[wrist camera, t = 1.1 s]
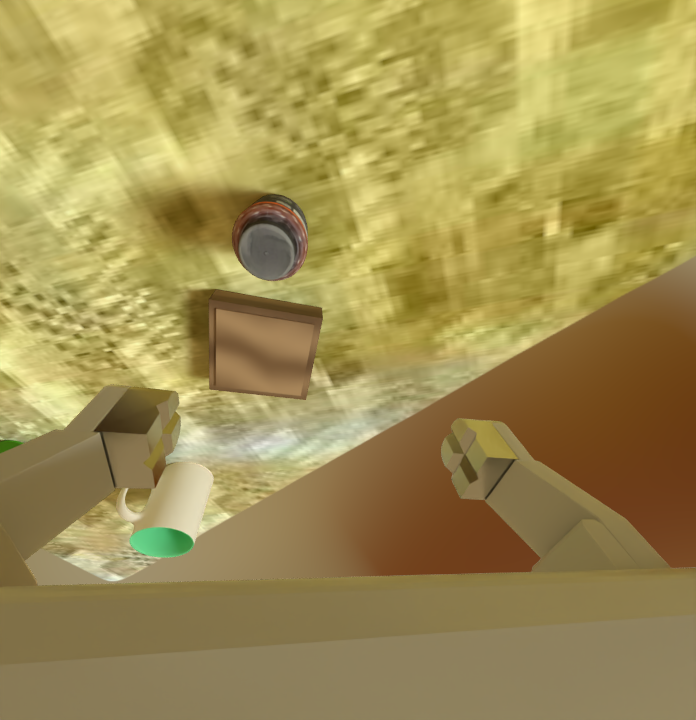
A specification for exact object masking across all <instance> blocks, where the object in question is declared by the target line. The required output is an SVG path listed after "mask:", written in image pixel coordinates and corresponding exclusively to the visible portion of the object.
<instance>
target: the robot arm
mask: <svg viewBox="0 0 696 720" xmlns="http://www.w3.org/2000/svg"><path fill="white" fill-rule="evenodd" d="M178 405H179V397H178V393H177V392H176V391H169V390H160V389H151V388H143V387H131V386H123V385H114V384H110V385H108V386H105V387H104V388H103V389H102V390H101V391H100V392H99V393H98V394H97V395H96V396H95V397H94V398H93V399H92V401H91V402H90V403H89V404H88V405H87V406H86V407H85V408H84V409H83V410H82V411H81V412H80V413H79V414H78V415H77V416H76V417H75V418H74V419H73V420H72V421H71V422H70V424H69V425H68V426H67V427H66V428H65V429H64V430H53V431H51V432H49V433H46V434H44V435H42V436H40V437H37V438H35V439H33V440H30V441H28V442H26V443H23V444H21V445H19V446H16V447H14V448H12V449H10V450H7V451H5V452H3V453H0V720H696V568H671V567H670V566H669V565H668V564H667V563H666V562H665V561H664V560H663V559H662V558H661V557H660V556H659V554H658V553H657V552H656V551H655V550H654V549H653V548H652V547H651V546H650V545H649V544H648V543H647V541H646V540H645V539H644V538H643V537H642V536H641V535H640V534H639V533H638V532H637V530H636V529H635V528H634V527H633V526H632V525H631V524H630V523H629V522H628V521H627V520H626V519H625V518H624V517H622V516H621V515H619V514H617V513H616V512H615V511H613V510H612V509H610V508H609V507H607V506H606V505H604V504H602V503H601V502H600V501H598V500H597V499H595V498H593V497H592V496H591V495H589V494H587V493H586V492H584V491H583V490H581V489H580V488H578V487H577V486H575V485H574V484H572V483H571V482H569V481H568V480H566V479H565V478H563V477H562V476H560V475H559V474H557V473H556V472H554V471H553V470H551V469H550V468H548V467H547V466H545V465H543V464H542V463H541V462H539V461H534V459H533V458H532V457H531V456H530V454H529V453H528V452H527V451H526V449H525V448H524V447H523V445H522V444H521V443H520V442H519V441H518V439H517V438H516V437H515V436H514V434H513V433H512V432H511V430H510V429H509V428H508V427H507V426H506V424H504V423H502V422H500V421H483V420H472V419H460V418H458V419H457V420H455V421H454V422H453V424H452V426H451V430H452V433H451V434H450V435H448V436H447V437H445V439H444V442H443V444H442V450H441V455H442V460H443V462H444V464H445V467H446V468H447V469H449V470H450V471H451V472H452V473H453V475H452V481H453V484H454V486H455V488H456V490H457V492H458V494H459V496H460V498H462V499H478V500H479V499H480V500H486V503H488V505H489V506H490V507H491V508H492V509H493V510H495V512H496V513H497V514H498V515H499V516H500V517H501V518H502V519H503V520H504V521H505V522H506V523H507V524H508V525H509V526H510V527H511V528H512V529H513V530H514V531H515V532H516V533H517V534H518V535H519V536H520V537H521V538H522V539H523V540H524V541H525V542H526V543H527V544H528V545H529V546H530V547H531V548H532V549H533V550H534V551H535V553H537V555H538V556H540V557H541V560H540V561H538V563H537V564H535V565H534V566H533V568H532V572H521V573H520V572H519V573H482V574H446V575H444V574H443V575H405V576H369V577H334V578H333V577H332V578H299V579H260V580H226V581H225V580H224V581H192V582H189V581H187V582H151V583H115V584H79V585H45V586H44V585H42V586H38V584H37V580H36V578H35V576H34V575H33V573H32V572H31V570H30V568H29V567H28V565H27V564H26V562H25V560H26V559H28V558H29V557H30V556H31V555H33V554H34V553H35V552H37V551H38V550H39V549H40V548H42V547H43V546H44V545H46V544H47V543H48V542H49V541H51V540H52V539H53V538H55V537H56V536H57V535H58V534H60V533H61V532H62V531H64V530H65V529H66V528H67V527H69V526H70V525H71V524H72V523H74V522H75V521H76V520H78V519H79V518H80V517H81V516H83V515H84V514H85V513H87V512H88V511H89V510H90V509H92V508H93V507H94V506H96V505H97V504H98V503H99V502H101V501H102V500H103V499H105V498H106V497H107V496H108V495H110V494H111V493H112V492H113V491H115V488H151V489H155V488H156V486H157V484H158V482H159V480H160V477H161V475H162V473H163V471H164V469H165V467H166V459H165V457H166V456H167V455H169V454H170V453H172V452H173V451H174V448H175V446H176V444H177V441H178V438H179V434H180V426H181V420H180V416H179V415H178V414H177V413H176V412H175V411H176V409H177V407H178Z"/></svg>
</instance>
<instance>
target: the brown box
mask: <svg viewBox="0 0 696 720" xmlns="http://www.w3.org/2000/svg"><path fill="white" fill-rule="evenodd" d="M322 320H323V316H322V308H319V307H314V306H308V305H302V304H297V303H291V302H285V301H280V300H274V299H268V298H263V297H257V296H251V295H245V294H240V293H234V292H228V291H223V290H217V289H216V290H215V292H214V293H213V294H212V296H211V297H210V299H209V385H210V389H211V390H220V391H229V392H238V393H247V394H257V395H266V396H275V397H284V398H294V399H303V400H306V397H307V392H308V387H309V382H310V378H311V373H312V368H313V363H314V358H315V353H316V349H317V344H318V339H319V334H320V329H321V324H322Z"/></svg>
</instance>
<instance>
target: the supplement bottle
mask: <svg viewBox="0 0 696 720" xmlns="http://www.w3.org/2000/svg"><path fill="white" fill-rule="evenodd" d="M232 244H233V248H234V252H235V254H236V256H237V258H238V260H239V262H240V263H241V264H242V266H243V267H244V268H245V269H246V270H247V271H248V272H250V273H251V274H252V275H254V276H256V277H258V278H260V279H264V280H268V281H278V280H283V279H287V278H289V277H291V276H292V275H294V274H295V273H296V272H297V271H298V270H299V269H300V268H301V266H302V265H303V263H304V261H305V258H306V255H307V248H308V238H307V223H306V219H305V216H304V214H303V212H302V210H301V209H300V208H299V206H298V205H297V204H296V203H295V202H294V201H292V200H291V199H289V198H287V197H285V196H282V195H276V194H272V195H266V196H264V197H262V198H260V199H259V200H257V201H256V202H255V203H253V204H252V205H251V206H250V207H248V208H247V209H246V210H244V211H243V212H242V213H241V214H240V215H239V217H238V218H237V220H236V222H235V224H234V227H233V232H232Z"/></svg>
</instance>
